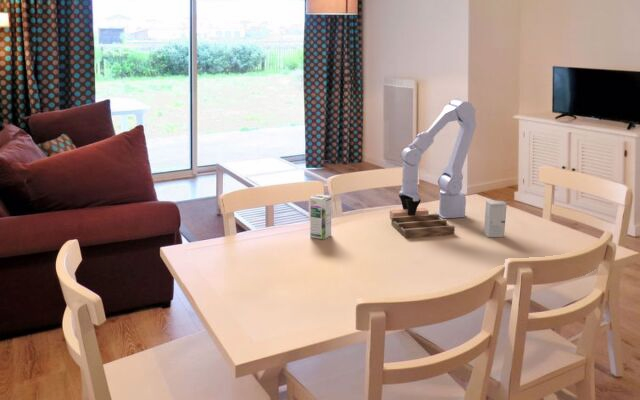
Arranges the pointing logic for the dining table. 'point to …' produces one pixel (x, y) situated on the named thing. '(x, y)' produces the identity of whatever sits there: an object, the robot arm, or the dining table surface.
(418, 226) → the rack
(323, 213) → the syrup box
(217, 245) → the dining table surface
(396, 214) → the clay strip
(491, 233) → the skincare box
